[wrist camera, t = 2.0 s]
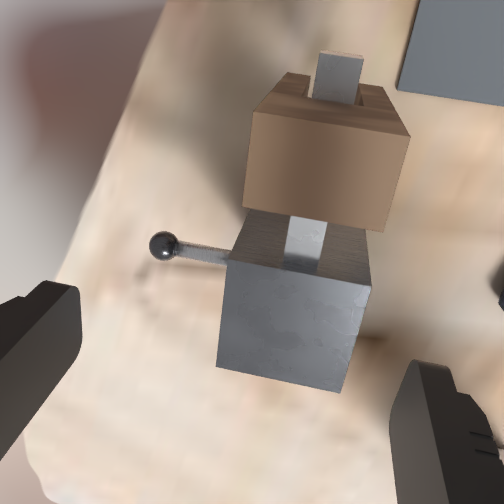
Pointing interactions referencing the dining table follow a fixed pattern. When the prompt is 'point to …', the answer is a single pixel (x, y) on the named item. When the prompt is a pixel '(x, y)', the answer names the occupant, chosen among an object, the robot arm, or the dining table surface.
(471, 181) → the dining table surface
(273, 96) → the slotted wooden collar
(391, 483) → the dining table surface
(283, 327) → the vise stand
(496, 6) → the felt pad
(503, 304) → the dark slate chunk
